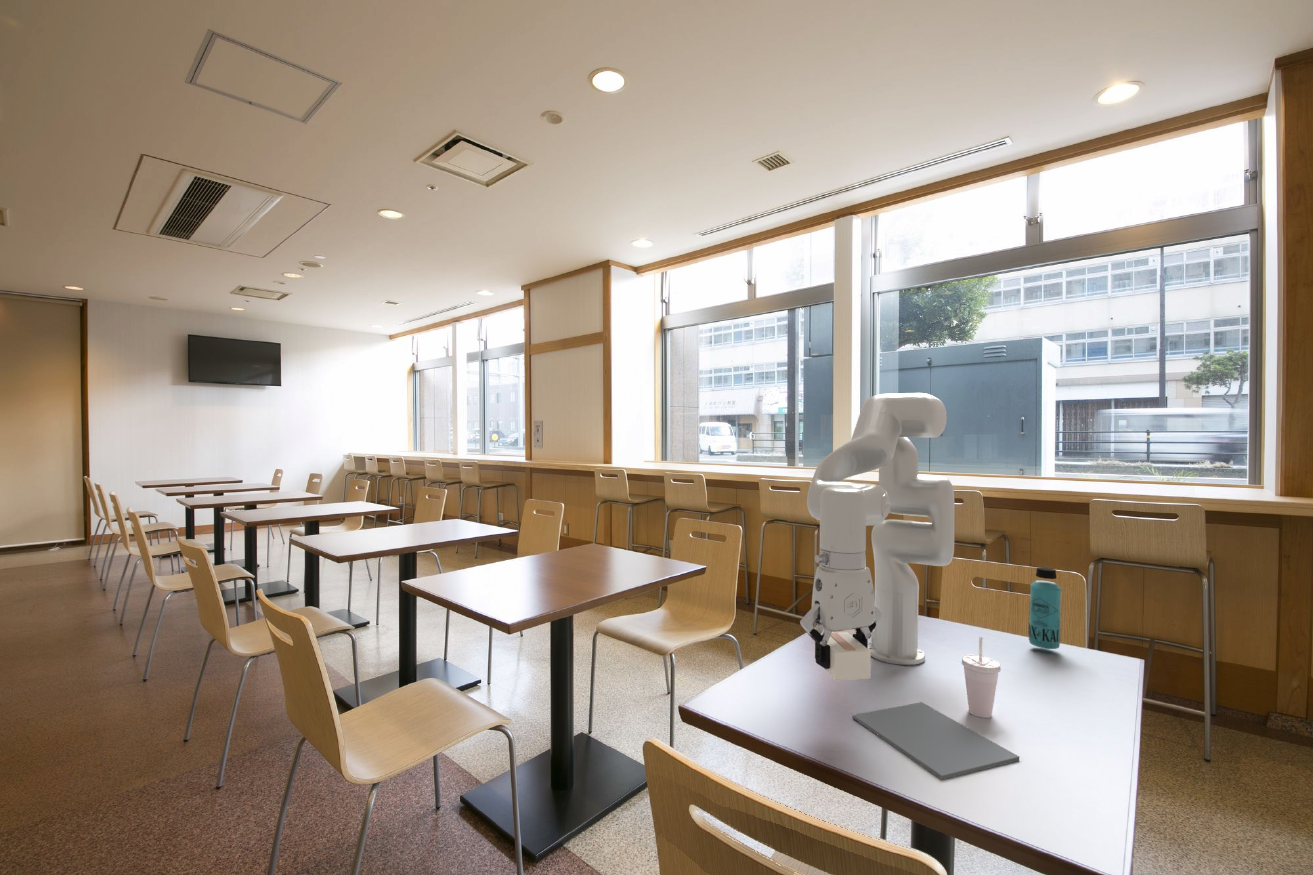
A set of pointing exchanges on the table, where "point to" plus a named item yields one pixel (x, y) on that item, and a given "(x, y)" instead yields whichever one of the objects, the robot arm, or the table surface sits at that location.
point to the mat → (935, 740)
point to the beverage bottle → (1045, 611)
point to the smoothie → (980, 682)
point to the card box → (848, 657)
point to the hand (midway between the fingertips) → (841, 661)
